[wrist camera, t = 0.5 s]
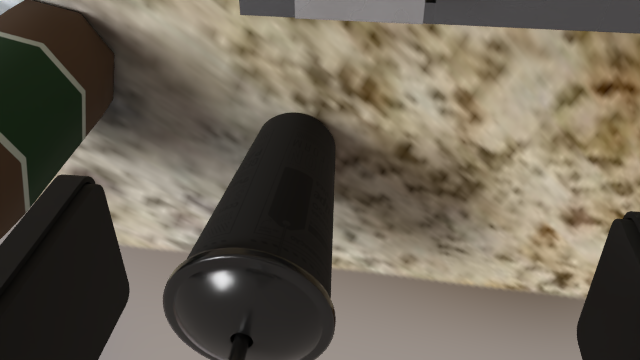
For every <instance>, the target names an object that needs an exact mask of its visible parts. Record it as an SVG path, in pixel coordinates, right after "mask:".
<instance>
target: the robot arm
mask: <svg viewBox="0 0 640 360" xmlns="http://www.w3.org/2000/svg"><path fill="white" fill-rule="evenodd" d="M128 297H129V282H128V279H127V275H126V271H125V267H124V264H123V260H122V256H121V252H120V249H119V245H118V241H117V237H116V234H115V230H114V226H113V222H112V219H111V215H110V211H109V207H108V204H107V200H106V196H105V192H104V190H103V187H102V186H101V185H98V184H95V181H94V180H93V179H92V177H89V176H76V175H58V176H57V177H56V178H55V179H54V180H53V181H52V183H51V184H50V185H49V186H48V188H47V189H46V190H45V191H44V192H43V194H42V195H41V196H40V197H39V199H38V200H37V201H36V202H35V203H34V205H33V206H32V207H31V208H30V210H29V211H28V212H27V213H26V214H25V216H24V217H23V218H22V219H21V221H20V222H19V223H18V224H17V225H16V227H15V228H14V229H13V230H12V232H11V233H10V234H9V235H8V237H7V238H6V239H5V240H4V241H3V243H2V244H1V245H0V360H98V359H99V356H100V355H101V353H102V351H103V349H104V347H105V345H106V343H107V341H108V339H109V337H110V335H111V333H112V331H113V329H114V327H115V325H116V323H117V321H118V319H119V317H120V315H121V314H122V311H123V310H124V308H125V306H126V303H127V301H128ZM577 340H578V345H579V348H580V352H581V356H582V359H583V360H640V212H632V211H630V212H627V213H626V214H625V216H624V218H623V219H615V220H614V221H613V223H612V225H611V228H610V231H609V234H608V237H607V240H606V243H605V245H604V248H603V251H602V254H601V257H600V260H599V263H598V266H597V269H596V272H595V274H594V277H593V280H592V283H591V286H590V289H589V292H588V295H587V298H586V301H585V304H584V307H583V310H582V312H581V315H580V318H579V321H578V325H577Z"/></svg>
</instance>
